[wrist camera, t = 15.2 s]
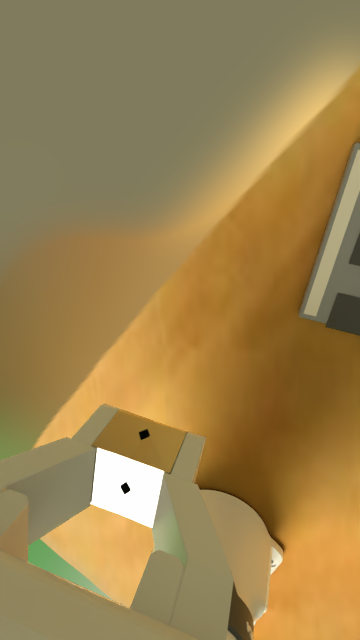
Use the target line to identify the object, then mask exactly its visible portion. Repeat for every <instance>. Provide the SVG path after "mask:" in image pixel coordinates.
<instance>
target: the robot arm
mask: <svg viewBox="0 0 360 640" xmlns="http://www.w3.org/2000/svg"><path fill="white" fill-rule="evenodd" d="M205 441H206V437H204V436H201V435H198V434H194V433H191V432H186V431H183V430H180V429H177V428H174V427H171V426H168V425H165V424H162V423H159V422H155V421H153V420H150V419H147V418H144V417H142V416H139V415H136V414H133V413H131V412H128V411H125V410H122V409H121V410H120V409H119V408H116V407H113V406H110V405H107V404H103V405H101V406H100V407H99V408H98V409H97V410H96V411H95V413H94V414H93V415H92V416H91V417H90V418H89V419H88V420H87V422H86V423H85V424H84V425H83V426H82V427H81V428H80V430H79V431H78V432H77V433H76V434H75V435H74V436H73V438H72V439H70V438H67V437H66V438H63V439H60V440H57V441H54V442H52V443H49V444H46V445H43V446H40V447H37V448H34V449H32V450H29V451H26V452H23V453H20V454H17V455H15V456H12V457H9V458H6V459H3V460H0V640H254V638H253V629H254V625H255V623H256V620H258V619H259V618H260V617H261V616H262V615H263V613H264V612H266V611H267V607H268V598H269V585H270V575H271V574H272V573H273V572H274V571H275V569H276V568H277V567H278V566H279V565H280V563H281V562H282V561H283V550H282V548H281V547H280V546H279V545H278V544H277V543H276V542H275V541H274V540H273V539H272V538H271V537H270V535H269V533H268V531H267V528H266V526H265V524H264V522H263V521H262V519H261V518H260V516H259V515H258V514H257V513H256V512H255V511H254V510H253V509H252V508H251V507H250V506H249V505H247V504H246V503H244V502H243V501H241V500H240V499H238V498H236V497H234V496H231V495H229V494H226V493H223V492H219V491H214V490H200V489H199V487H198V485H197V484H195V480H196V476H197V472H198V469H199V465H200V461H201V457H202V453H203V449H204V445H205ZM90 504H93V505H96V506H99V507H102V508H104V509H107V510H110V511H113V512H115V513H118V514H121V515H123V516H126V517H128V518H130V519H133V520H135V521H137V522H140V523H142V524H144V525H147V526H149V527H151V528H152V533H153V539H154V547H153V550H152V553H151V555H150V558H149V560H148V563H147V566H146V568H145V571H144V573H143V576H142V578H141V581H140V584H139V586H138V589H137V591H136V594H135V597H134V599H133V602H132V604H131V607H130V608H128V607H126V606H124V605H122V604H119V603H117V602H115V601H113V600H110V599H108V598H106V597H104V596H102V595H99V594H97V593H95V592H93V591H90V590H88V589H86V588H84V587H81V586H79V585H77V584H75V583H73V582H70V581H68V580H66V579H64V578H61V577H59V576H57V575H55V574H52V573H50V572H48V571H46V570H44V569H41V568H39V567H37V566H35V565H32V564H30V563H28V545H30V544H31V543H33V542H34V541H36V540H38V539H39V538H41V537H42V536H44V535H45V534H47V533H48V532H50V531H52V530H53V529H55V528H56V527H58V526H59V525H61V524H62V523H64V522H66V521H67V520H69V519H70V518H72V517H73V516H75V515H76V514H78V513H79V512H81V511H83V510H84V509H86V508H87V507H89V506H90Z"/></svg>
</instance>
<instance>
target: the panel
mask: <svg viewBox="0 0 360 640" xmlns="http://www.w3.org/2000/svg"><path fill="white" fill-rule="evenodd" d="M298 313H299V317H301V318H305V319H309V320H313V321H317V322H321V323H325V324H326V327H328V328H332V329H336V330H340V331H344V332H348V333H352V334H356V335H360V143H355V144H354V145H353V146H352V149H351V153H350V156H349V159H348V162H347V165H346V168H345V171H344V174H343V177H342V180H341V183H340V186H339V189H338V193H337V196H336V199H335V202H334V205H333V208H332V211H331V214H330V217H329V220H328V223H327V226H326V229H325V232H324V236H323V239H322V242H321V245H320V248H319V251H318V254H317V257H316V260H315V263H314V266H313V269H312V272H311V275H310V279H309V282H308V285H307V288H306V291H305V294H304V297H303V300H302V303H301V306H300V309H299V312H298Z"/></svg>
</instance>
